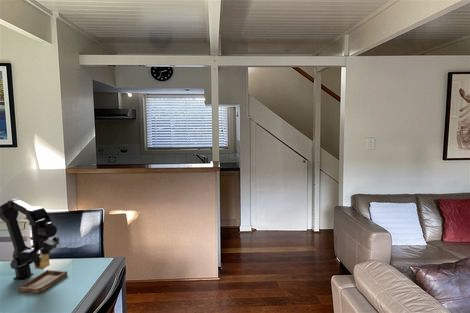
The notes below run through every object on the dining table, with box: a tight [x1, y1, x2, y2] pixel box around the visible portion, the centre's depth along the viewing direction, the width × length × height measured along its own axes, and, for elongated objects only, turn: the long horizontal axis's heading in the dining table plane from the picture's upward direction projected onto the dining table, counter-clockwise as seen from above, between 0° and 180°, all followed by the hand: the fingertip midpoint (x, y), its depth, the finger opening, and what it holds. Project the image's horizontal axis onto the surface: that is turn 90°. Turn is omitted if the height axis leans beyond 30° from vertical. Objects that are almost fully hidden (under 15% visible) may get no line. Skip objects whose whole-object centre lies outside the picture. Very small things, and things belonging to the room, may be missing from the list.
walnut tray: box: [17, 269, 68, 295], centre depth 161 cm, size 12×18×2 cm, turn 169°
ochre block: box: [33, 252, 51, 270], centre depth 160 cm, size 4×4×6 cm
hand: (42, 264), depth 160 cm, fingers closed on ochre block, 4 cm apart
